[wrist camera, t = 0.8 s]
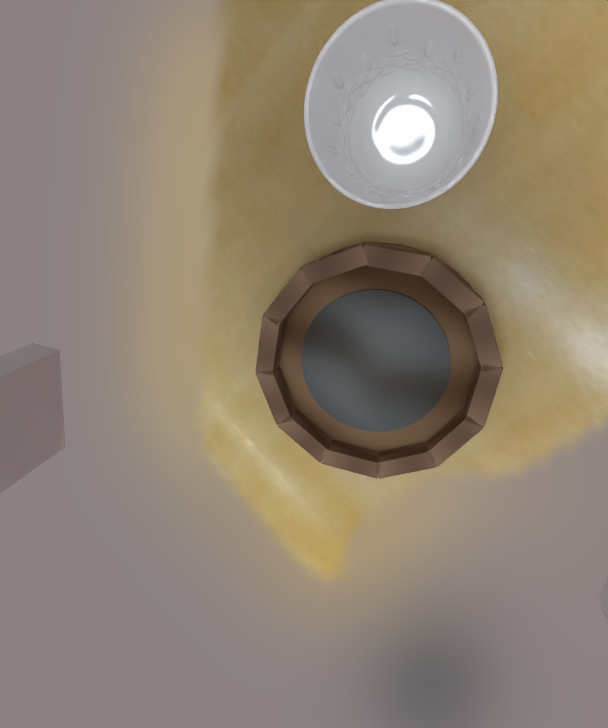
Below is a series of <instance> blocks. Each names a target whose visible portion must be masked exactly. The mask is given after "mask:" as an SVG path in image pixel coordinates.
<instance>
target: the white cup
mask: <svg viewBox="0 0 608 728" xmlns="http://www.w3.org/2000/svg"><path fill="white" fill-rule="evenodd" d="M497 102H498V81H497V73H496V68H495V64H494V60H493V57H492V54H491V52H490V49H489V47H488V45H487V43H486V41H485V39H484V37H483V36H482V34H481V33H480V31H479V30H478V29H477V27H476V26H475V25H474V24H473V23H472V22H471V21H470V20H469V19H468V18H467V17H466V16H465V15H464V14H463V13H461V12H460V11H459V10H457V9H456V8H454V7H452V6H451V5H449V4H447V3H444V2H442V1H439V0H381V1H378V2H376V3H373V4H371V5H369V6H367V7H365V8H363V9H362V10H360V11H358V12H357V13H355V14H354V15H353V16H351V17H350V18H349V19H348V20H346V21H345V22H344V23H343V24H342V25H341V26H340V27H339V28H338V29H337V30H336V31H335V32H334V33H333V35H332V36H331V37H330V38H329V40H328V41H327V42H326V44H325V45H324V47H323V48H322V50H321V52H320V54H319V55H318V57H317V59H316V61H315V64H314V66H313V68H312V71H311V74H310V77H309V80H308V84H307V88H306V93H305V101H304V126H305V133H306V138H307V142H308V145H309V148H310V151H311V154H312V156H313V158H314V160H315V162H316V164H317V166H318V168H319V169H320V171H321V172H322V174H323V175H324V176H325V178H326V179H327V180H328V181H329V182H330V183H331V184H332V185H333V186H334V187H335V188H336V189H337V190H338V191H339V192H341V193H342V194H344V195H345V196H347V197H348V198H350V199H352V200H354V201H356V202H358V203H361V204H363V205H366V206H370V207H374V208H380V209H402V208H408V207H413V206H417V205H420V204H423V203H425V202H428V201H430V200H432V199H434V198H436V197H438V196H440V195H441V194H443V193H444V192H446V191H447V190H449V189H450V188H451V187H453V186H454V185H455V184H456V183H457V182H459V181H460V180H461V179H462V178H463V177H464V176H465V175H466V173H467V172H468V171H469V170H470V169H471V167H472V166H473V165H474V163H475V162H476V161H477V159H478V158H479V156H480V154H481V153H482V151H483V149H484V147H485V145H486V143H487V141H488V138H489V136H490V133H491V130H492V127H493V124H494V120H495V116H496V110H497Z"/></svg>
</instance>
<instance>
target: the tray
mask: <svg viewBox="0 0 608 728" xmlns="http://www.w3.org/2000/svg"><path fill="white" fill-rule="evenodd" d="M263 315H264V316H263V317H262V325H261V333H260V341H259V349H258V357H257V365H256V372H257V373H256V375H257V378H258V380H259V383H260V385H261V388H262V390H263V392H264V395H265V397H266V400H267V402H268V405H269V407H270V410H271V412H272V414H273V417H274V419H275V422H276V424H277V425H278V424H279V425H278V427H279V428H280V429H282V430H283V431H284V432H285V433H286V434H287V435H289V436H290V437H291V438H292V439H293V440H294V441H295V442H297V443H298V444H299V445H300V446H301V447H302V448H304V449H305V450H306V451H307V452H308V453H309V454H311V455H312V456H313V457H314V458H315V459H316V460H318V461H319V462H320V463H321V462H322V464H325V465H329V466H332V467H336V468H340V469H344V470H347V471H351V472H355V473H358V474H362V475H366V476H370V477H373V478H378V477H379V479H380V478H385V477H390V476H395V475H400V474H405V473H410V472H415V471H420V470H425V469H430V468H435V467H436V465H437V466H439V465H440V464H441V463H443V462H444V461H445V460H446V459H447V458H449V457H450V456H451V455H452V454H453V453H455V452H456V451H457V450H458V449H459V448H460V447H462V446H463V445H464V444H465V443H466V442H468V441H469V440H470V439H471V438H472V437H473V436H475V435H476V434H477V433H478V432H479V431H481V430H482V429H483V427H484V426H485V423H486V420H487V417H488V414H489V411H490V407H491V404H492V401H493V398H494V395H495V392H496V389H497V386H498V383H499V379H500V376H501V373H502V370H503V368H502V367H503V365H502V361H501V358H500V354H499V351H498V347H497V344H496V340H495V337H494V333H493V328H492V326H491V323H490V319H489V316H488V312H487V309H486V305H485V303H484V301H483V300H482V298H481V297H480V296H479V295H478V294H477V293H475V292H474V291H473V289H472V288H471V286H470V285H469V284H468V283H467V282H466V281H465V280H464V279H463V278H462V277H461V276H460V275H459V274H458V273H457V272H456V271H455V270H453V269H452V268H451V267H450V266H448V265H447V264H446V263H444V262H442V261H441V260H439V259H437V258H436V257H435V256H434V255H431V254H428V253H425V252H422V251H420V250H417V249H414V248H410V247H406V246H402V245H396V244H387V243H368V242H367V243H363V244H360V245H356V246H351V247H348V248H345V249H341V250H338V251H336V252H334V253H331V254H329V255H327V256H325V257H323V258H321V259H319V260H317V261H314V262H312V263H309V264H307V265H305V266H303V267H301V268H300V269H299V270H298V271H297V273H296V274H295V275H294V277H293V278H292V279H291V280H290V282H289V283H288V284H287V285H286V287H285V288H284V289H283V290H282V292H281V293H280V294H279V295H278V297H277V298H276V299H275V300H274V302H273V303H272V304H271V306H270V307H269V308H268V309H267V311H266V312H265V313H264V314H263Z"/></svg>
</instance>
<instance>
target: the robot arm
mask: <svg viewBox="0 0 608 728" xmlns="http://www.w3.org/2000/svg"><path fill="white" fill-rule="evenodd" d="M63 448H65V433H64V415H63V398H62V380H61V363H60V350H58V349H54V348H50V347H45V346H41V345H37V344H33V343H32V344H30V345H27V346H24V347H22V348H19V349H17V350H14V351H12V352H9V353H7V354H4V355H2V356H0V493H2V492H3V491H4V490H6V489H7V488H9V487H10V486H11V485H13V484H14V483H16V482H17V481H18V480H20V479H21V478H23V477H24V476H25V475H27V474H28V473H30V472H31V471H32V470H34V469H35V468H37V467H38V466H39V465H41V464H42V463H44V462H45V461H46V460H48V459H49V458H50V457H52V456H54V455H55V454H56V453H58V452H59V451H60V450H62V449H63ZM598 599H599V602H600V604H601V606H602V609H603V611H604V614H605V617H606V619H607V622H608V579H607V581H606V583H605V585H604V587H603V589H602V591H601V593H600V595H599V597H598Z"/></svg>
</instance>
